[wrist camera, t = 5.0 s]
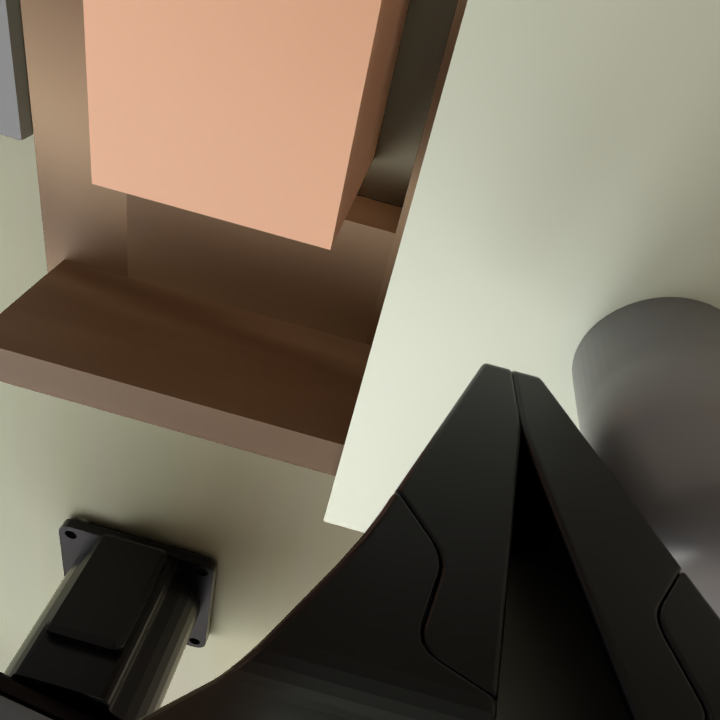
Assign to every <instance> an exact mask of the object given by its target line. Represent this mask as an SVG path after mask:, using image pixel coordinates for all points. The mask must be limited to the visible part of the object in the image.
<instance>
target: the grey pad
mask: <svg viewBox="0 0 720 720" xmlns="http://www.w3.org/2000/svg"><path fill="white" fill-rule="evenodd" d="M0 134H1V135H5V136H8V137H12V138H16V139H19V140H23V139H25V138H27V137H28V136H30V135H32V134H33V130H32V120H31V110H30V100H29V91H28V81H27V71H26V61H25V52H24V42H23V32H22V22H21V13H20V3H19V0H0Z"/></svg>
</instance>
